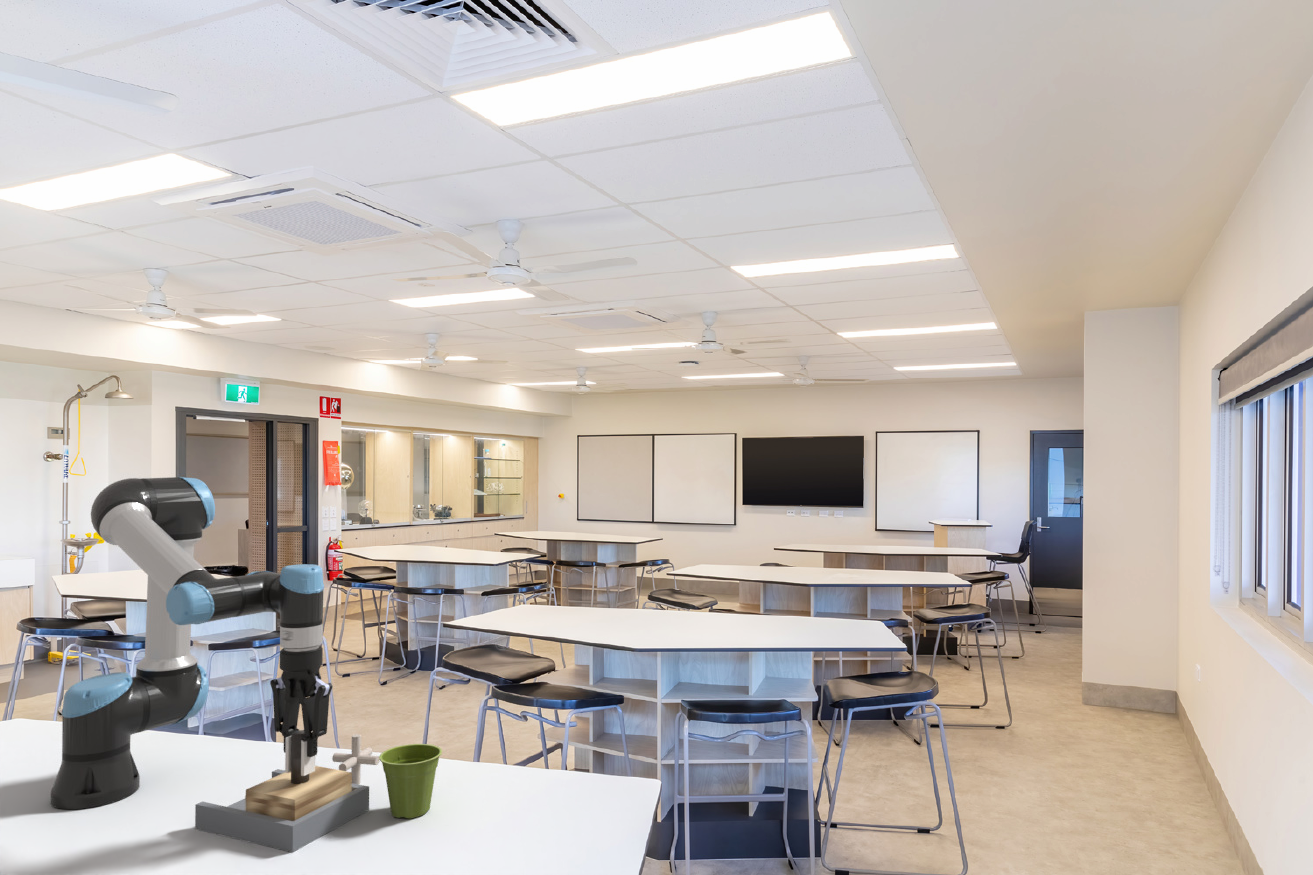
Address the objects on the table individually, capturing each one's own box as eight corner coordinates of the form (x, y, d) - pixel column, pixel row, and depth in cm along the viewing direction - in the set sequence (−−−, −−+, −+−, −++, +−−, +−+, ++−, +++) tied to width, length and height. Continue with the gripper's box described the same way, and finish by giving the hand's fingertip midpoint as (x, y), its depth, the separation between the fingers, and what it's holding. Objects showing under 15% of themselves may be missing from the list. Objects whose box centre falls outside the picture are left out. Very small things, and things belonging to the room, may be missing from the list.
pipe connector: (364, 794, 169) (364, 745, 170) (320, 790, 171) (321, 741, 172) (389, 775, 179) (389, 729, 180) (347, 772, 181) (348, 726, 182)
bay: (195, 828, 154) (195, 804, 154) (277, 790, 171) (277, 769, 171) (292, 852, 144) (292, 826, 145) (369, 809, 162) (369, 786, 162)
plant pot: (454, 806, 164) (454, 748, 164) (410, 829, 153) (411, 768, 154) (410, 794, 169) (410, 739, 170) (365, 816, 159) (365, 757, 159)
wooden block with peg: (244, 822, 152) (245, 740, 153) (304, 793, 165) (305, 718, 166) (294, 833, 148) (295, 749, 148) (351, 803, 161) (352, 725, 161)
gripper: (253, 647, 157) (251, 772, 156) (319, 655, 151) (318, 785, 150) (284, 639, 164) (283, 759, 163) (349, 646, 158) (348, 770, 157)
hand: (300, 771), depth 157 cm, fingers closed on wooden block with peg, 3 cm apart
